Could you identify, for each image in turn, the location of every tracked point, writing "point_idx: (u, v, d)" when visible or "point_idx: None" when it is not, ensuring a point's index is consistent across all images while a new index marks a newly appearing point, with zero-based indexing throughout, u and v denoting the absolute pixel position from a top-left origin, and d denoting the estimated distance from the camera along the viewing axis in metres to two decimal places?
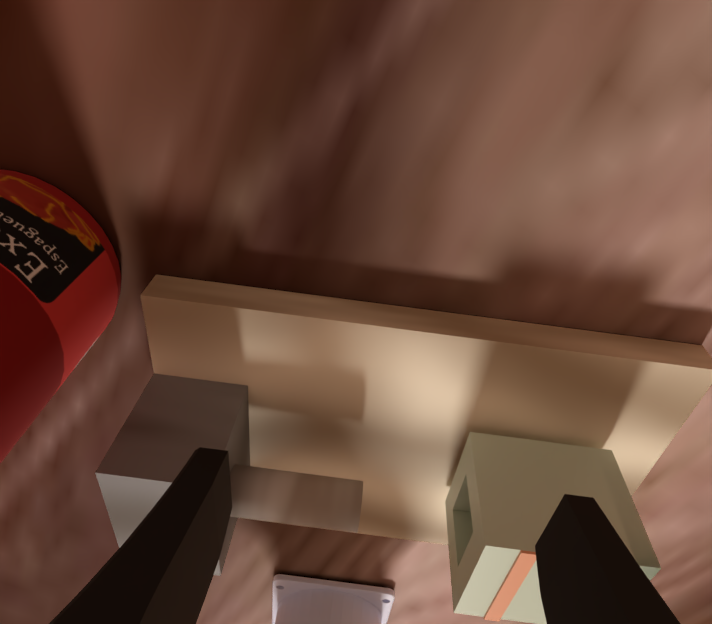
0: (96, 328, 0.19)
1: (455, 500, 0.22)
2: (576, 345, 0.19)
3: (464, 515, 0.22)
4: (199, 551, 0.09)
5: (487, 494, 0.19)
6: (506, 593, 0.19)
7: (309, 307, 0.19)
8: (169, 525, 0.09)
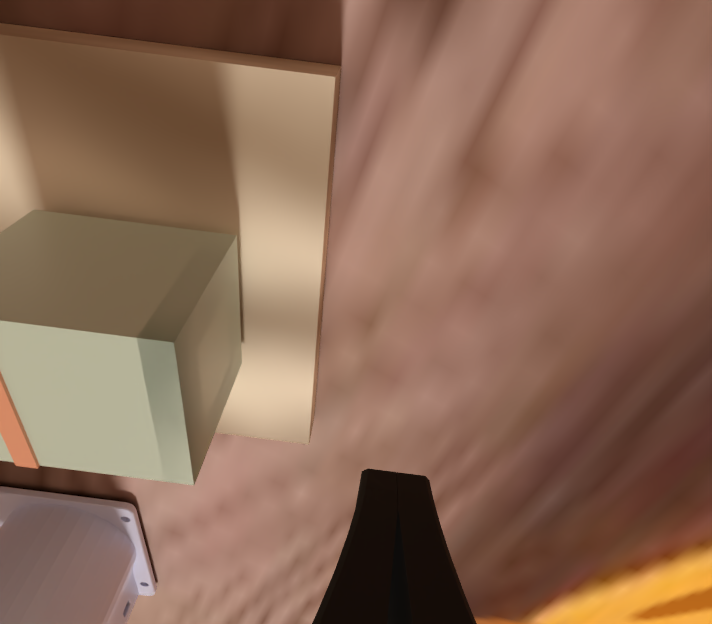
0: None
1: None
2: (129, 47, 0.13)
3: None
4: None
5: None
6: (0, 409, 0.12)
7: None
8: (374, 551, 0.09)
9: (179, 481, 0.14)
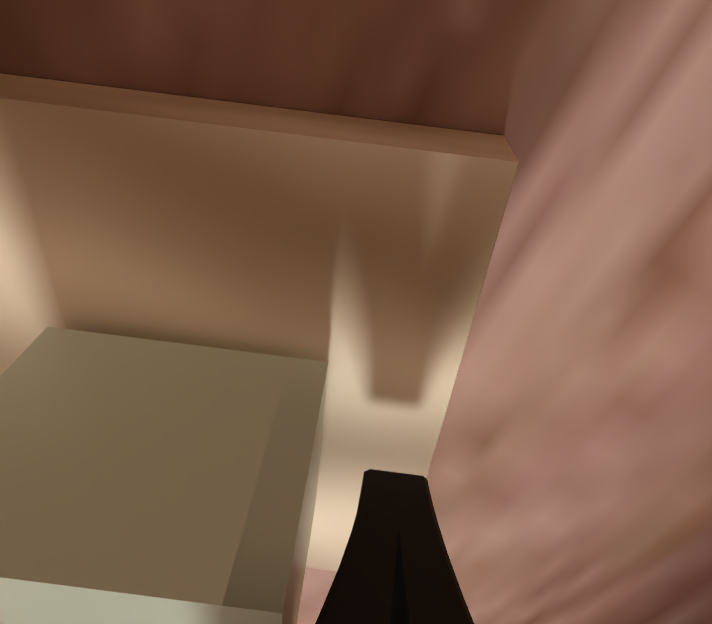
0: None
1: None
2: (209, 117, 0.09)
3: None
4: None
5: None
6: None
7: None
8: (376, 552, 0.09)
9: None
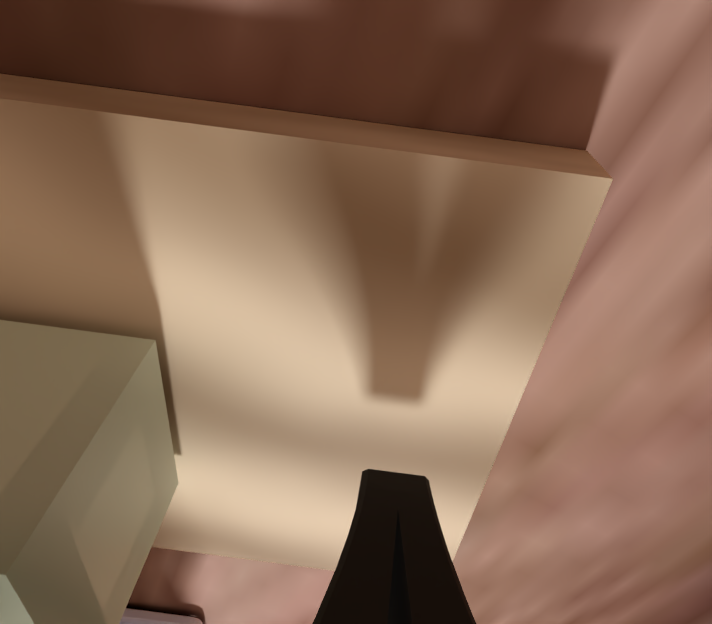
0: None
1: None
2: (303, 131, 0.09)
3: None
4: None
5: None
6: None
7: None
8: (374, 551, 0.09)
9: None
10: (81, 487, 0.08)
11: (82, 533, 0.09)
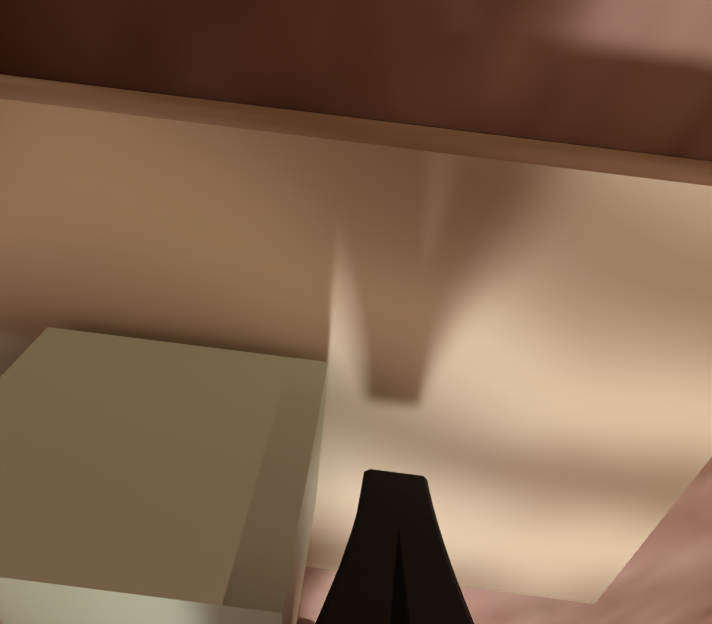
0: None
1: None
2: (580, 163, 0.09)
3: None
4: None
5: None
6: None
7: (2, 87, 0.09)
8: (376, 552, 0.09)
9: None
10: (301, 516, 0.08)
11: (297, 562, 0.09)
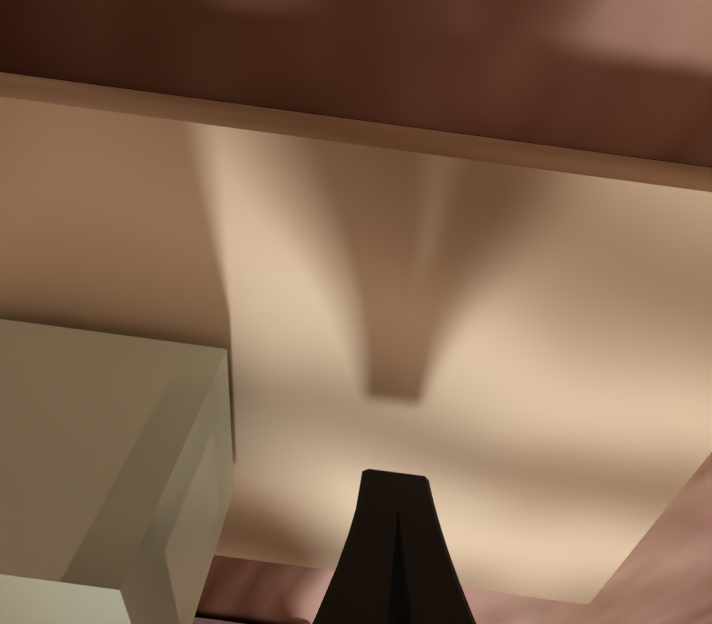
0: None
1: None
2: (579, 167, 0.09)
3: None
4: None
5: None
6: None
7: (4, 85, 0.09)
8: (374, 551, 0.09)
9: None
10: (172, 499, 0.08)
11: (170, 544, 0.09)
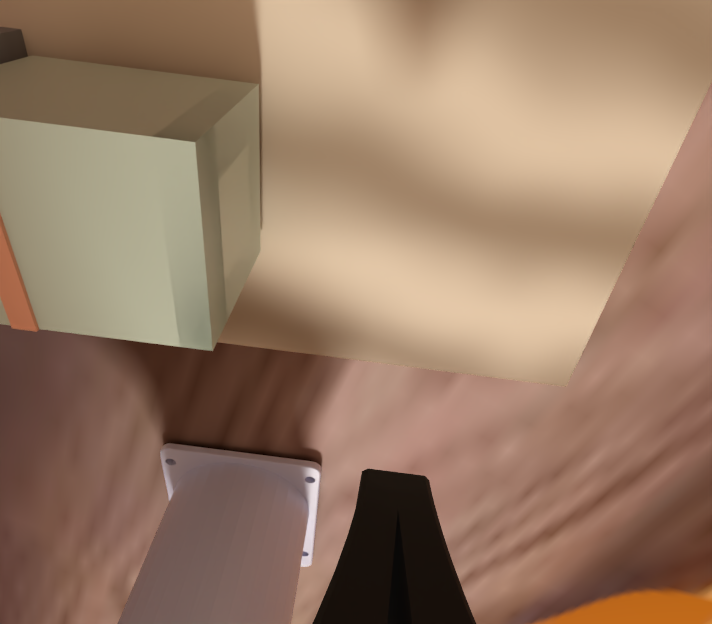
0: None
1: None
2: None
3: None
4: None
5: None
6: None
7: None
8: (374, 551, 0.09)
9: (196, 346, 0.12)
10: (223, 142, 0.11)
11: (221, 186, 0.11)
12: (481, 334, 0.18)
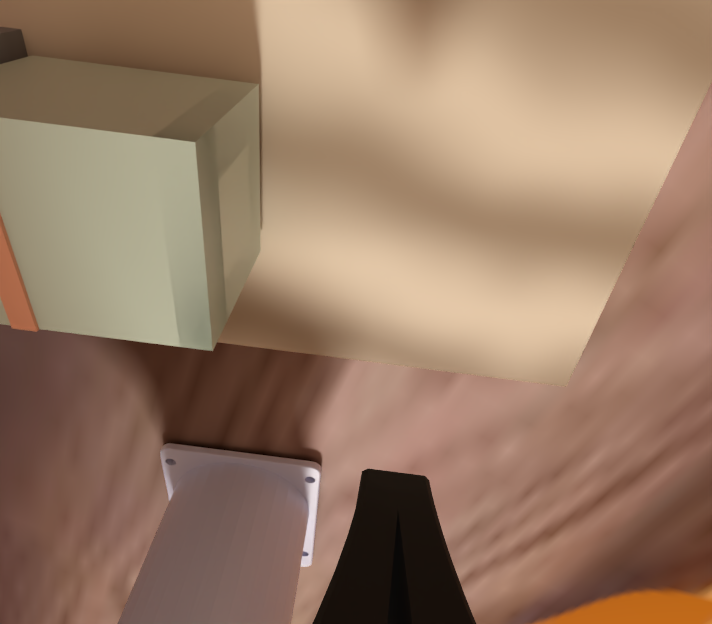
0: None
1: None
2: None
3: None
4: None
5: None
6: None
7: None
8: (374, 551, 0.09)
9: (196, 346, 0.12)
10: (223, 142, 0.11)
11: (221, 186, 0.11)
12: (481, 334, 0.18)
